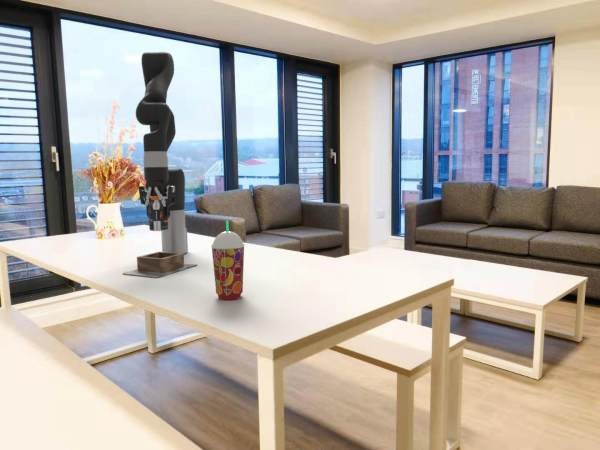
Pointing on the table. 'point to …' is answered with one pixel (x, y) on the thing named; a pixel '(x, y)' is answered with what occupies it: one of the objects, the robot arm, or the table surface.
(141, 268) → the well
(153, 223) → the pill bottle
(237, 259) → the smoothie
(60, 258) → the table surface
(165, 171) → the robot arm
